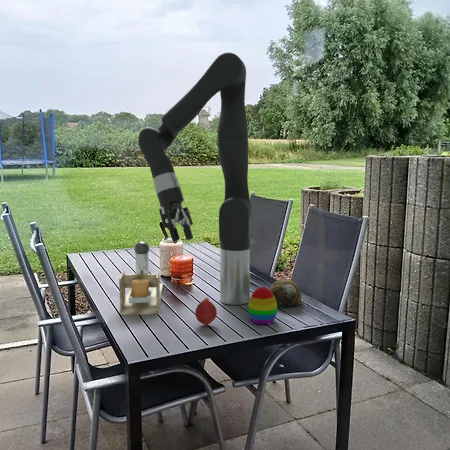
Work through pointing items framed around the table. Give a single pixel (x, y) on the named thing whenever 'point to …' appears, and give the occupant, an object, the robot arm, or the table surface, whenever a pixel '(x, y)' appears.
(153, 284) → the frame
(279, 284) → the seashell
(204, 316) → the onion
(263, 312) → the decorative egg
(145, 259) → the shaft
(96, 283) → the table surface
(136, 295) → the rounded orange object
